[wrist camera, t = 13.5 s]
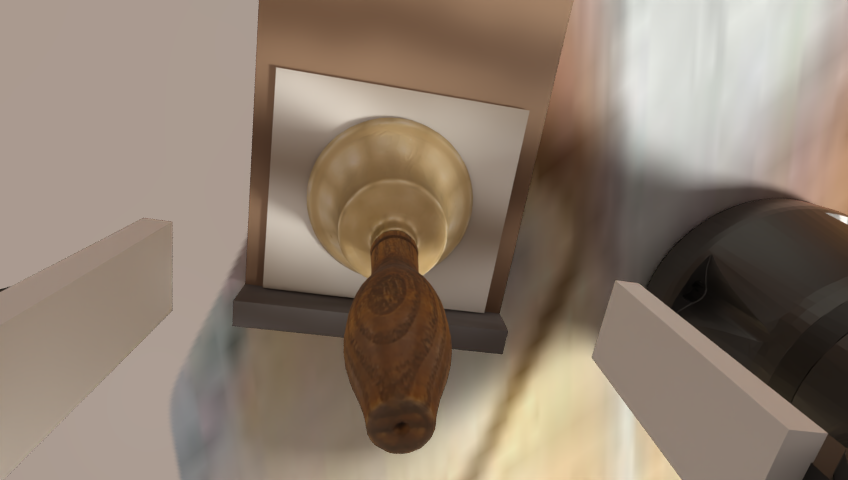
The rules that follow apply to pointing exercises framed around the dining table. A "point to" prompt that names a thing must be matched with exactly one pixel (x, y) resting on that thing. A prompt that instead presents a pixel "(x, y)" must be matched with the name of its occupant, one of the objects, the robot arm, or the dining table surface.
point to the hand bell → (393, 265)
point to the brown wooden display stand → (395, 98)
